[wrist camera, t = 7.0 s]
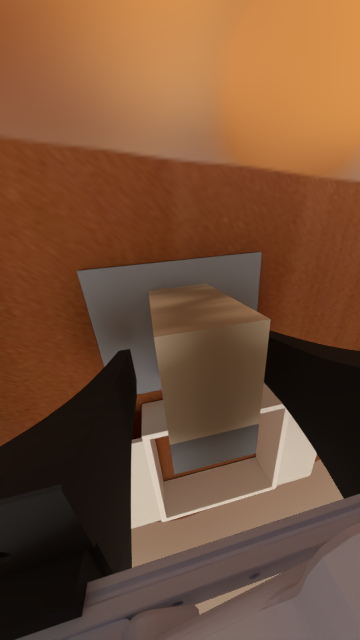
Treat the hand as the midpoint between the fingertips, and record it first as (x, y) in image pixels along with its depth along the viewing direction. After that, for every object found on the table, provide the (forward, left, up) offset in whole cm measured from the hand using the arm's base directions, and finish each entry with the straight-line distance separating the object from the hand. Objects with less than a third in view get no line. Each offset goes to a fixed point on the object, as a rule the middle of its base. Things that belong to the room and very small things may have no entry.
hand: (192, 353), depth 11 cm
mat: (0, 0, -4) cm, 4 cm away
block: (0, 0, -3) cm, 3 cm away
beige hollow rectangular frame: (-2, +12, -4) cm, 13 cm away
